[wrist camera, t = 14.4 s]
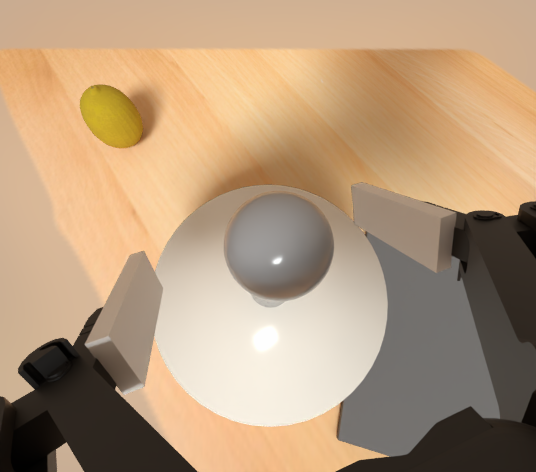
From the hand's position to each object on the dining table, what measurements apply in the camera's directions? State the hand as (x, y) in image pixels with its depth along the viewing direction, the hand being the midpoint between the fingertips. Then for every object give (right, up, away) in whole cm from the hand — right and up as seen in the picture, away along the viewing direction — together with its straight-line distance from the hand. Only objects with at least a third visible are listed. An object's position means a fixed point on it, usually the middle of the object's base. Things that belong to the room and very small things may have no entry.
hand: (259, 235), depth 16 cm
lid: (+1, -4, +5) cm, 7 cm away
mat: (+20, -11, +10) cm, 25 cm away
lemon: (-17, +12, +17) cm, 27 cm away
